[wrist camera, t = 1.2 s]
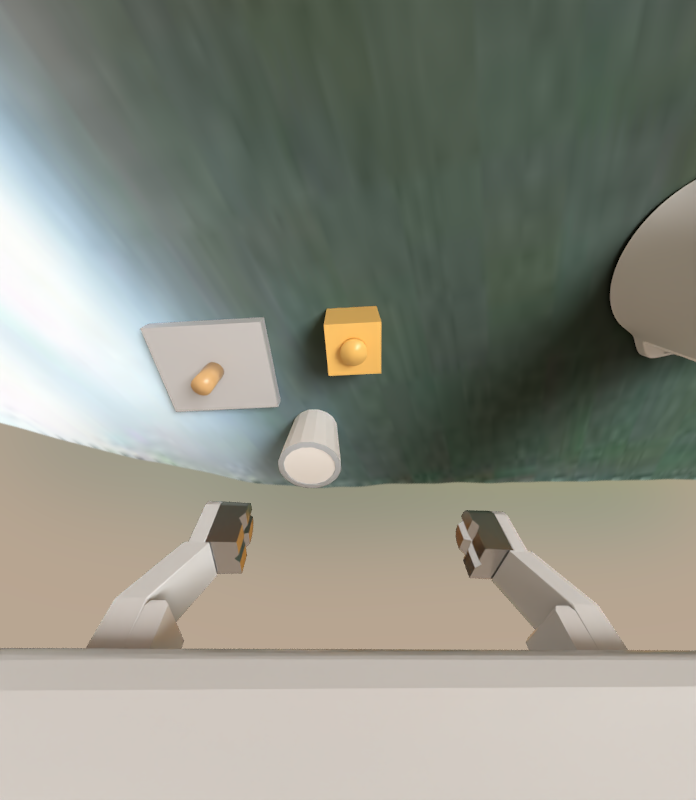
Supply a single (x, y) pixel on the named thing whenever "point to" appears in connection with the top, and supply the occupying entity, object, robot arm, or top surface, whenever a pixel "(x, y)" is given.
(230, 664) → the robot arm
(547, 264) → the top surface
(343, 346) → the cube with dome knob
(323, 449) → the white cylinder
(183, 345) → the flat gray block
